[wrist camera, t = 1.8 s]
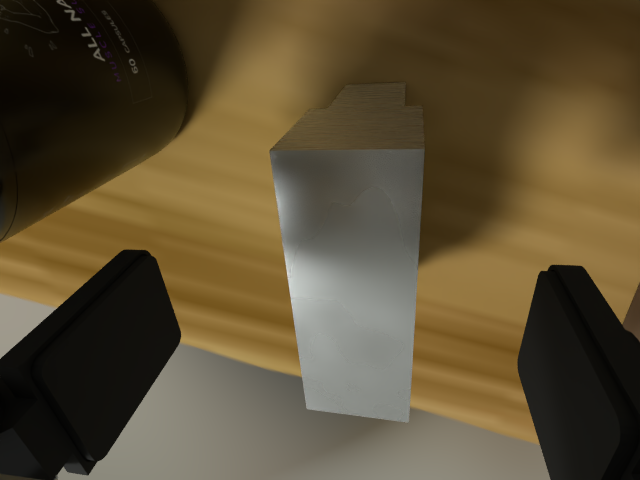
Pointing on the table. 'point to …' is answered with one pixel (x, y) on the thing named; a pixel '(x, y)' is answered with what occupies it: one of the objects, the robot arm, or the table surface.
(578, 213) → the table surface
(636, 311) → the rail
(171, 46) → the supplement bottle
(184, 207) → the table surface
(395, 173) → the grey boxy piece
